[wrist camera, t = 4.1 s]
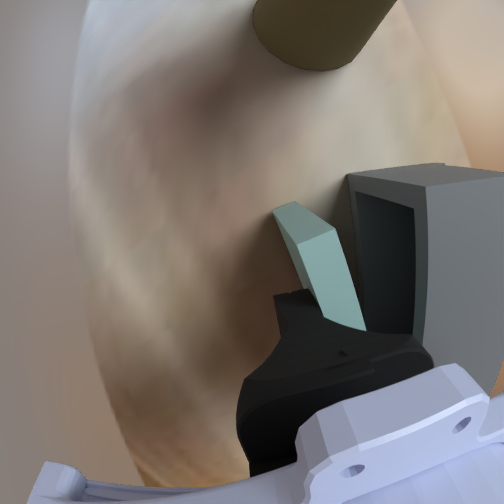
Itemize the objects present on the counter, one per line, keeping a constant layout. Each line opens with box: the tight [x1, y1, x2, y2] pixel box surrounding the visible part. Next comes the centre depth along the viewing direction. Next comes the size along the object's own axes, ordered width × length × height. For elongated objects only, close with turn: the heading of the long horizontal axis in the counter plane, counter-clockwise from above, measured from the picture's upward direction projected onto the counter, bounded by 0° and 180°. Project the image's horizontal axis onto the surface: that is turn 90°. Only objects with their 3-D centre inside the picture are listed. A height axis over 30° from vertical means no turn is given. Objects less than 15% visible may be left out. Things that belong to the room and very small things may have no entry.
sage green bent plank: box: [272, 201, 366, 331], centre depth 13 cm, size 12×1×6 cm, turn 23°
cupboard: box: [347, 163, 504, 397], centre depth 13 cm, size 13×6×7 cm, turn 11°
